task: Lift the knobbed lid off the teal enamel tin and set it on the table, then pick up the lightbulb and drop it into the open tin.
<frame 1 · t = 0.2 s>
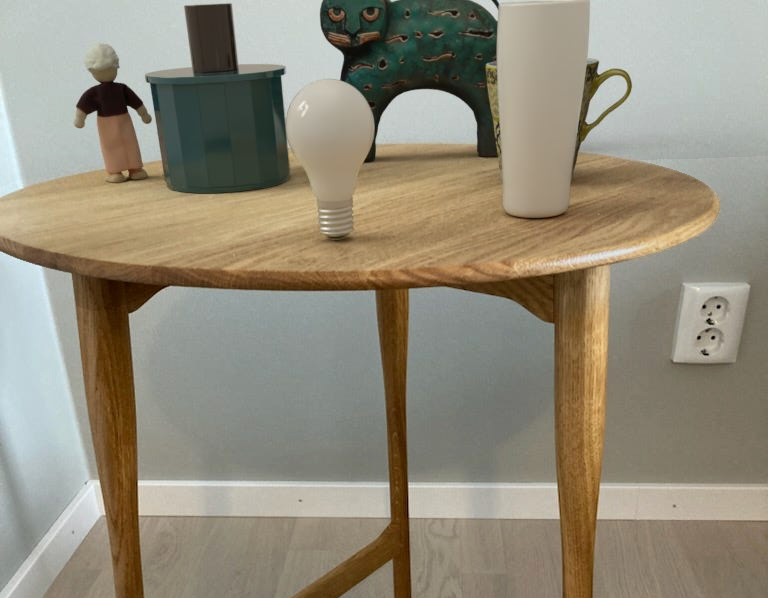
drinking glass: (535, 215, 74), on the table
grandmother figurine: (122, 181, 96), on the table
tin: (229, 180, 92), on the table
ceramic cat: (421, 158, 100), on the table
ceramic cup: (552, 181, 86), on the table
lid: (216, 77, 87), point 9 cm above the table, touching tin
lightbulb: (337, 241, 69), on the table
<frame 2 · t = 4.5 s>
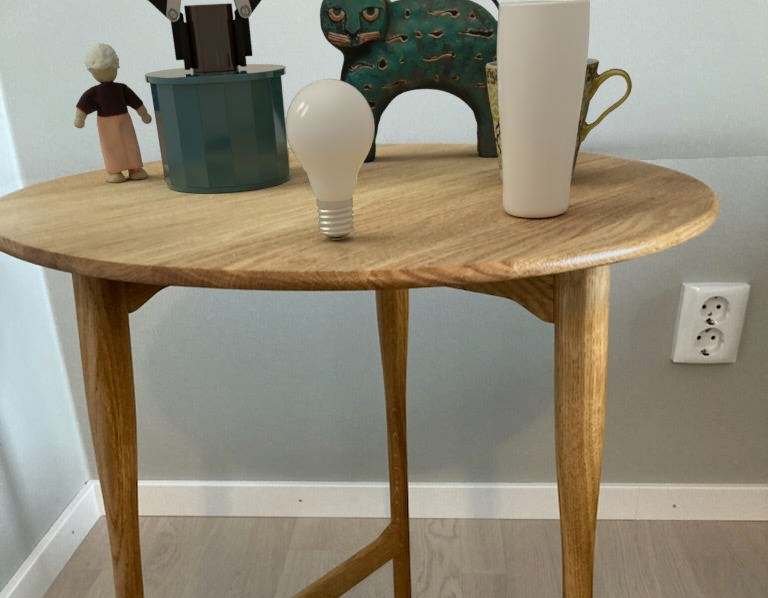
hand: (215, 64, 87), 11 cm above the table, tool pointing down, fingers closed on lid, 4 cm apart
lid: (216, 77, 87), point 10 cm above the table, touching gripper, tin
everything else where it was.
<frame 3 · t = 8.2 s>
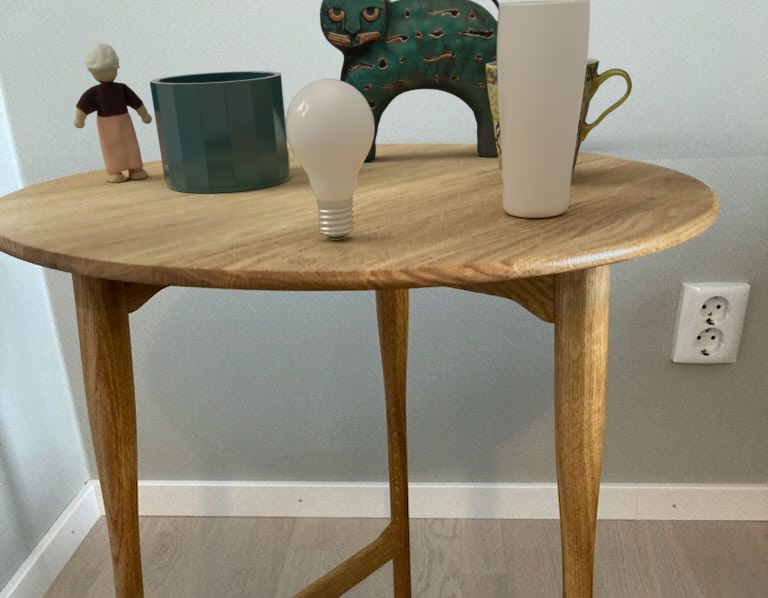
when the fingers open (2 cm above the table, at t = 12.0 s): lid stays where it is, point 1 cm above the table.
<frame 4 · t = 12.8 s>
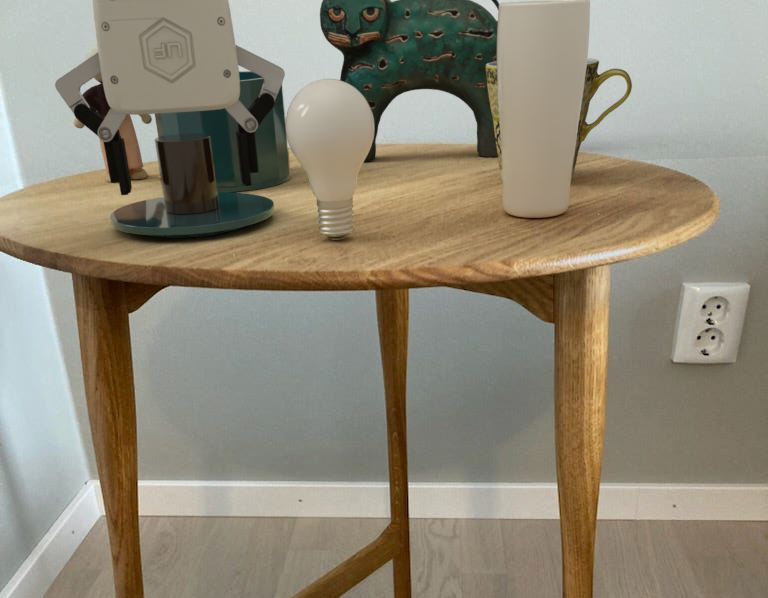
hand: (187, 187, 74), 3 cm above the table, tool pointing down, fingers open, 9 cm apart
lid: (193, 216, 75), point 1 cm above the table
everything else where it was.
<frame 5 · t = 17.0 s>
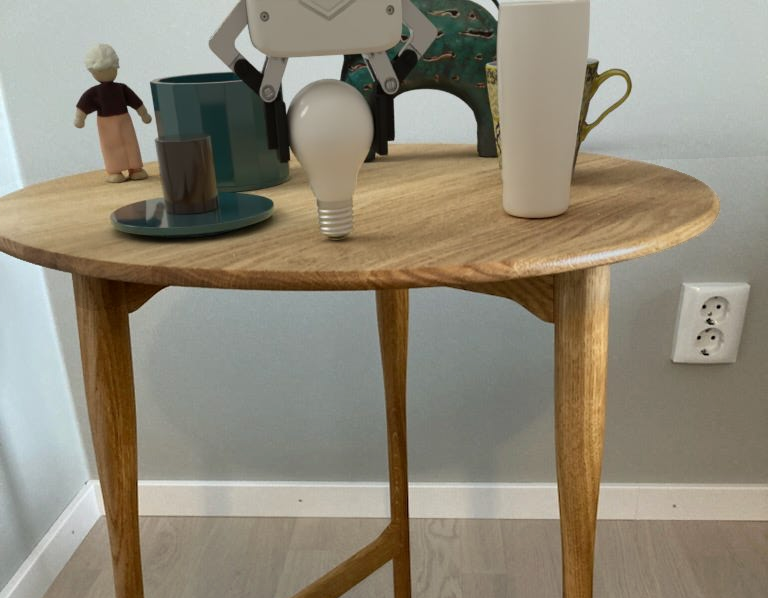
hand: (331, 154, 66), 6 cm above the table, tool pointing down, fingers closed on lightbulb, 6 cm apart
lightbulb: (337, 241, 69), on the table, touching gripper
everything else where it was.
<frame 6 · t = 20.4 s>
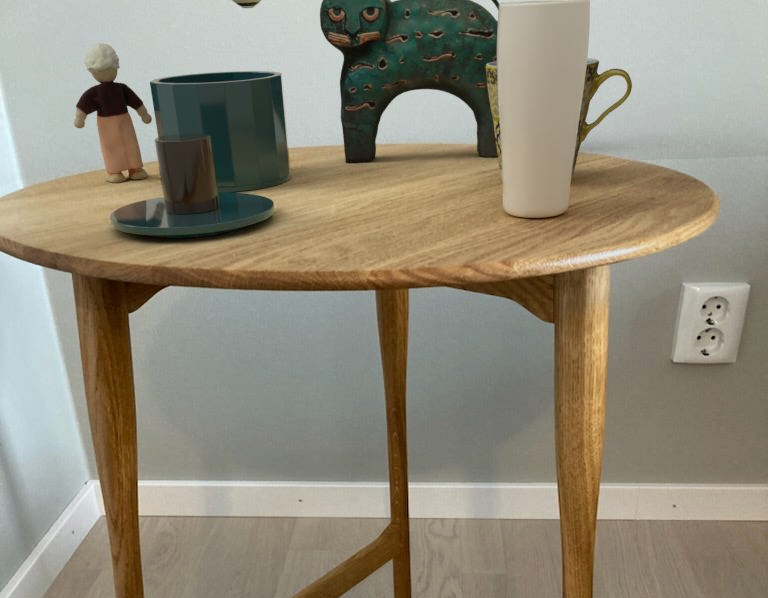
lightbulb: (248, 10, 74), point 15 cm above the table, touching gripper
everything else where it was.
when the fingers open (13 cm above the table, at t = 24.2 s): lightbulb drops 6 cm, resting on tin.
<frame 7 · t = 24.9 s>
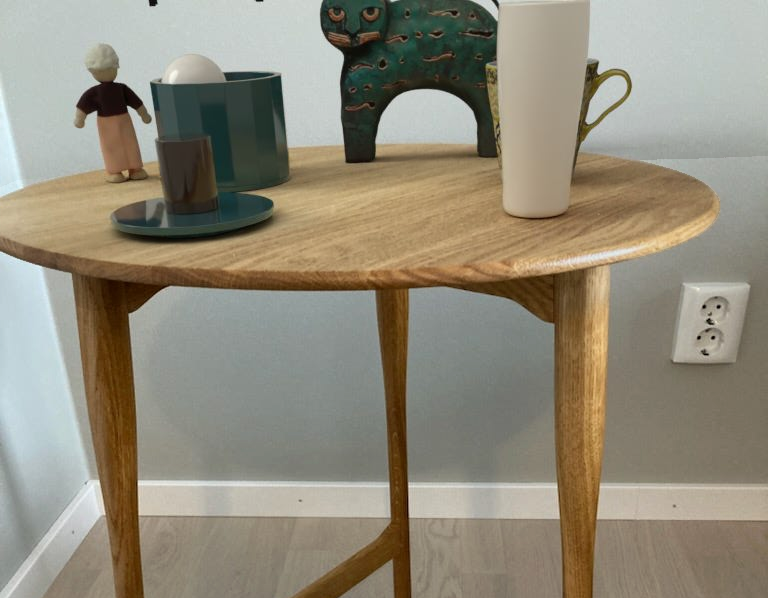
hand: (206, 3, 84), 16 cm above the table, tool pointing down, fingers open, 9 cm apart
lightbulb: (225, 174, 92), point 1 cm above the table, touching tin
everything else where it was.
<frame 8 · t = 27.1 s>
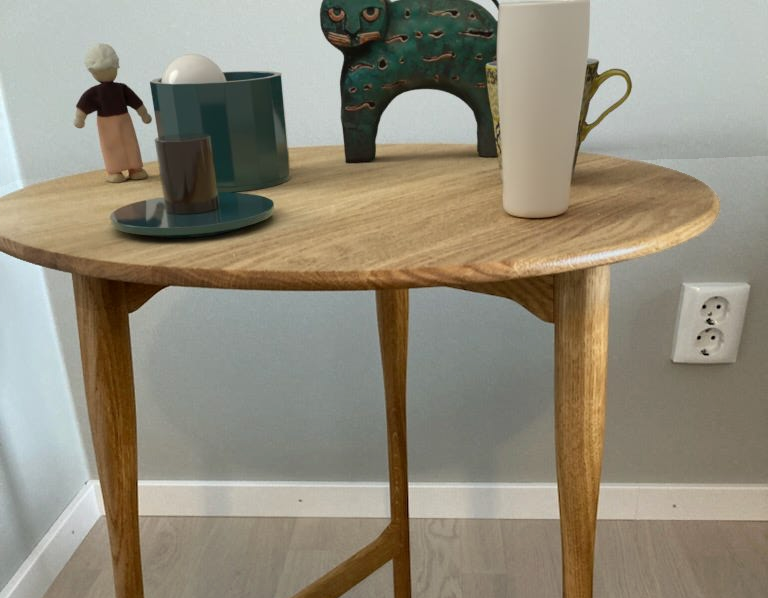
nothing on the table moved.
at the end: lid inside the target area (0.1 cm from its centre), point 0.6 cm above the table; lightbulb inside the target area in the tin (0.3 cm from its centre), point 0.6 cm above the tin's base; the gripper is holding nothing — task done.
